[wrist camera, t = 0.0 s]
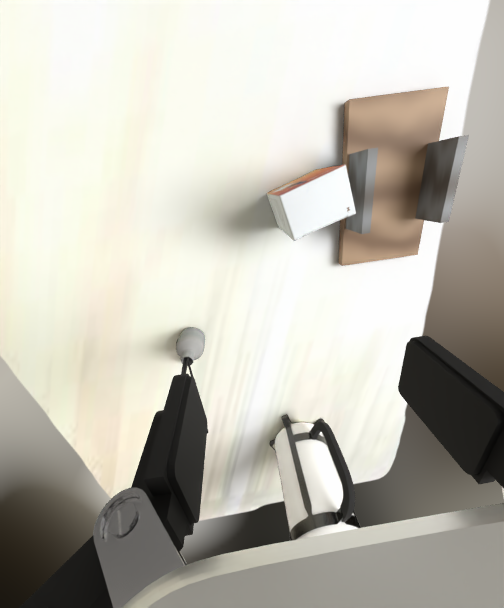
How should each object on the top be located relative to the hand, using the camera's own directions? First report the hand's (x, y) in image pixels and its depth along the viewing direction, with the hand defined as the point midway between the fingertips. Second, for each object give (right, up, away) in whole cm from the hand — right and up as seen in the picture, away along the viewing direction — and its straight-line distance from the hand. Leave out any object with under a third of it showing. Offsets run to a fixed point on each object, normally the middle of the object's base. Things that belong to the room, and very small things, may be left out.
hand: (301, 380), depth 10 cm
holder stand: (+18, +21, +26) cm, 38 cm away
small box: (+5, +19, +26) cm, 33 cm away
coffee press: (+9, -27, +49) cm, 57 cm away
